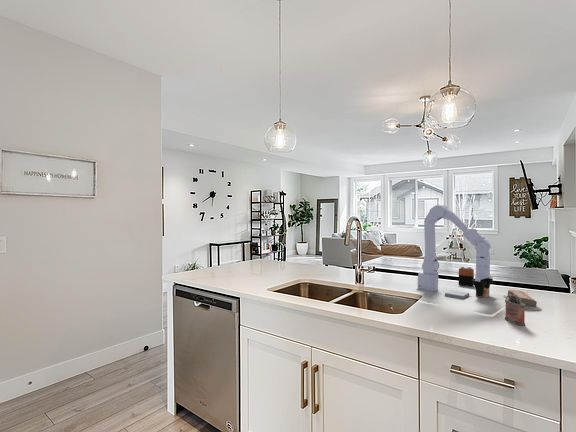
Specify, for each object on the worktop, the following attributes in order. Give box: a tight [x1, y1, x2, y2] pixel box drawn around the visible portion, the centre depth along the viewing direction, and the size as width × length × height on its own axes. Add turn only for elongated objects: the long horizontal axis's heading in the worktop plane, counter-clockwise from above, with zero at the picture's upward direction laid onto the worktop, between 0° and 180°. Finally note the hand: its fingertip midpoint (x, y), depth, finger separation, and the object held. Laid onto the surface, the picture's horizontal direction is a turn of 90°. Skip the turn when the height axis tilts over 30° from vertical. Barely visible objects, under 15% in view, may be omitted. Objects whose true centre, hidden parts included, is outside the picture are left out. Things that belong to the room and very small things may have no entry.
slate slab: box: [444, 289, 470, 300], centre depth 157 cm, size 8×8×2 cm
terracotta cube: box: [475, 288, 490, 298], centre depth 157 cm, size 4×4×4 cm
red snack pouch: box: [504, 294, 526, 327], centre depth 122 cm, size 8×3×10 cm, turn 5°
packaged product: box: [503, 289, 543, 311], centre depth 147 cm, size 18×5×10 cm
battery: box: [458, 266, 475, 288], centre depth 183 cm, size 4×7×10 cm, turn 50°
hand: (482, 294), depth 157 cm, fingers open, 7 cm apart
